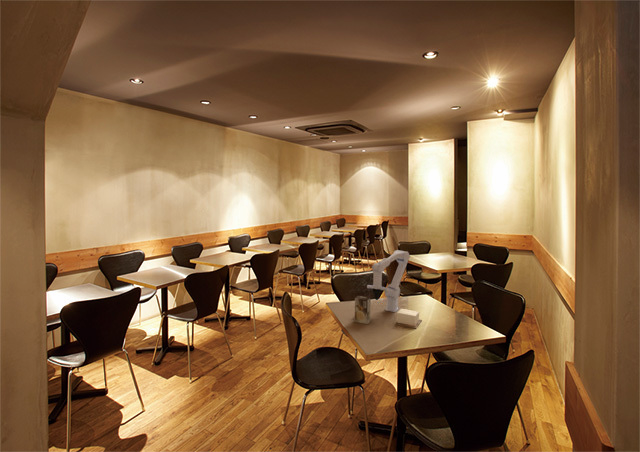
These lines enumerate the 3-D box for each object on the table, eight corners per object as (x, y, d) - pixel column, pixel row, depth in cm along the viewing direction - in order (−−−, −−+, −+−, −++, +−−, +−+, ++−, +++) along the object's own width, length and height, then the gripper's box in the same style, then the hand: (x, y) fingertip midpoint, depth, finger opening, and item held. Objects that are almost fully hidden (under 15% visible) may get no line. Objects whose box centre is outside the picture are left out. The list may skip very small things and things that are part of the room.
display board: (404, 317, 228) (404, 316, 228) (421, 320, 222) (421, 320, 222) (397, 325, 214) (397, 324, 214) (415, 329, 208) (415, 328, 208)
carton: (401, 308, 225) (419, 311, 219) (400, 317, 225) (418, 321, 219) (397, 312, 217) (415, 316, 211) (396, 322, 218) (415, 325, 212)
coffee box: (370, 321, 221) (371, 297, 219) (367, 324, 215) (367, 300, 213) (357, 318, 225) (358, 295, 223) (354, 321, 219) (354, 297, 218)
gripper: (365, 280, 232) (365, 299, 233) (385, 283, 224) (384, 302, 226) (369, 278, 238) (368, 296, 239) (389, 281, 230) (388, 300, 232)
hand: (376, 299), depth 233 cm, fingers closed
